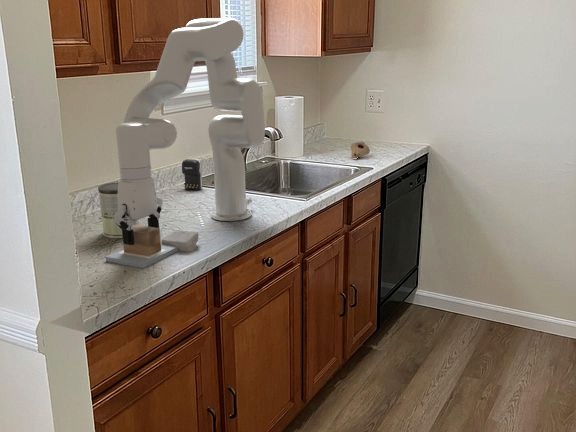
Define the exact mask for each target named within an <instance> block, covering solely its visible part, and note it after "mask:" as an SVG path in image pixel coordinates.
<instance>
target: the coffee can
mask: <svg viewBox="0 0 576 432" xmlns="http://www.w3.org/2000/svg"><path fill="white" fill-rule="evenodd" d="M118 184H119V181H115V182H109V183H103V184H101V185H99V186H98V187H97V190H98V196H99V203H100V204H99V205H100V211H101V212H100V215H101V221H102V231H103V233H102V234H103V236H104V237H105V238H109V239H123V236H122V229H120V228H119V226H117V224H116V222H115V220H114V218H113V216H114V214H115V213H116V212H117V211H118ZM128 222H129V221H127V222H126V224H127V225H128ZM133 225H140V224H139V220H136V221H134V223H133ZM133 225H132V226H133Z"/></svg>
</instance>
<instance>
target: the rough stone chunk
mask: <svg viewBox="0 0 576 432" xmlns="http://www.w3.org/2000/svg"><path fill="white" fill-rule="evenodd" d="M160 240H161V244H165V245H172V246H178V251H181V252H185V253H186V252H188V253H191V252H193V251H194V250H195V249H196V248H197V243H198V241H199V231H190V230H189V231H187V230H185V231H184V230H179V229H178V230H173V231H172V232H170V233H169V234H168V235H165V236H164V237H163V238H161V239H160Z"/></svg>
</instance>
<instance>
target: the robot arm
mask: <svg viewBox="0 0 576 432" xmlns="http://www.w3.org/2000/svg"><path fill="white" fill-rule="evenodd" d="M243 41H244V29H243V26H242V24H241V23H240V22H239V21H238V20H237V19H235V18H233V17H223V18H222V17H221V18H220V17H219V18H216V17H215V18H212V17H211V18H197V19H193V20H190V21H189V22H188V23H186V25H185V27H181V28H177V29H174V30H172V31H171V32H170V34H169V35H168V37H167V39H166V42H165V44H164V45H165V46H164V48H163V52H162V54H161V57H160V60H159V62H158V66H157V69H156V72H155V74H154V77H153V78H152V79H151V80H150V81H149V82H148V83H147V84H145V85H144V86H143V87H142V89H141V90H139V92H137V94H136V95H135V96H134V97H133V99H132V100H131V102H130V103H129V105H128V108H127V110H126V114H125V117H124V119H123V123H120V124H118V125H117V126H116V127H115V128H116V129H115V134H116V135H115V136H116V146H117V155H118V157H117V158H118V165H119V167H118V168H119V175H120V180H119V181H118V182H119V184H118V211H117V212H116V213H115V214H114V216H113V218H114V220H115V222H116V224H117V226H119V228H120V229H122V236H123V238H122V244H123V243H124V244H127V245H134V244H135V242H134V232H133V229H131V228H132V225H133V223H134V221H136V220H138V221H139V220H141V219H144V218H146V217H148V218H147V226H148V227H155V228H160V222H159V219H160V218H161V211H162V206H163V202H164V200H163V199H162V198H160V197H157V192H156V187H155V186H156V185H155V183H154V178H153V175H152V165H151V152H150V151H151V150H163V149H167V148H169V147H171V146H172V145H173V144H174V143H175V142H176V140H177V138H178V137H177V135H178V130H177V128H176V126H175V125H174V124H173V123H172V122H171V121H170V120H167V119H164V118H151V117H150V115H151V114H152V113H153V112H154V111H155V109H156V108H158V107H159V106H160V105H162V104H163V103H165V102H167V101H169V100H171V99H173V98H176V97H177V96H179V95H181V94H183V93H184V92H185V91H186V89H187V87H188V83H189V80H190V77H191V74H192V71H193V68H194V65H195V63H196V62H204V63H205V65H206V66H205V67H206V73H207V82H208V91H209V99H210V103H211V106H212V107H213V108H214V109H216V110H218V111H223V112H241V115H237V114H220V115H216V116H215V117H213V118H212V119H211V120H210V122H209V123H208V128H207V130H208V132H207V133H208V138H209V140H210V145H211V146H210V147H211V150H212V159H213V178H214V193H215V194H214V195H215V196H214V199H215V210H213V211H212V212H210V214H211V216H210V217H211V218H212V219H213V220H216V221H220V222H236V221H237V222H238V221H242V220H247V219H249V218H250V217H251V216H252V211H251V210H250V209H249V208H247V207H248V206H249V205H251V204H252V203H253V199H252V198H251V197H248V198H247V197H246V195H247V192H246V168H245V167H246V165H245V157H244V155H243V152H242V151H241V149H240V148H242V149H257V148H259V147H261V146H262V144H264V141H265V137H266V136H265V135H266V123H265V109H264V97H263V96H264V95H263V91H262V89H261V87H260V85H259V83H258V82H257V81H256V80H255V79H251V78H239V77H238V73H237V67H236V66H237V64H236V60H235V57H234V55H233V53H232V52H235V51H236V50H237V49H239V48H240V47H241V45H242V43H243ZM127 221H129V222H128V225H127V224H126V222H127Z"/></svg>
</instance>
